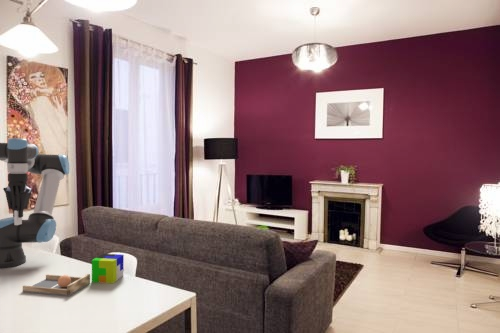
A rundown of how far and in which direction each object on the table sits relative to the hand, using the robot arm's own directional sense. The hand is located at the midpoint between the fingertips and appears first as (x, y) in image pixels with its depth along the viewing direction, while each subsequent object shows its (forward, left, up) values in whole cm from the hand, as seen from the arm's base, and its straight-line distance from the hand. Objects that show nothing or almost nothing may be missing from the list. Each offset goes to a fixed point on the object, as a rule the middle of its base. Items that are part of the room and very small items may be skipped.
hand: (18, 224), depth 160 cm
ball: (+7, +28, -21) cm, 36 cm away
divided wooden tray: (+7, +25, -24) cm, 36 cm away
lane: (+7, +25, -24) cm, 36 cm away
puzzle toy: (-7, +40, -25) cm, 48 cm away
